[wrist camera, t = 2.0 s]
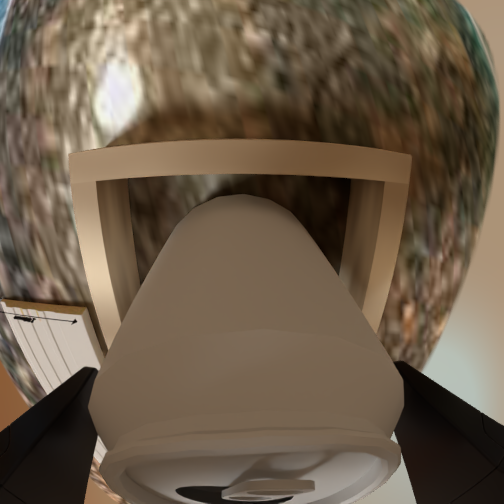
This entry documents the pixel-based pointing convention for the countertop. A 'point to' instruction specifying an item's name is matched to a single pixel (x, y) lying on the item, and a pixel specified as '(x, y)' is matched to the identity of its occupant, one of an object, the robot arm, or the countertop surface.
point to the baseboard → (55, 343)
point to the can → (245, 372)
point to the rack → (237, 162)
